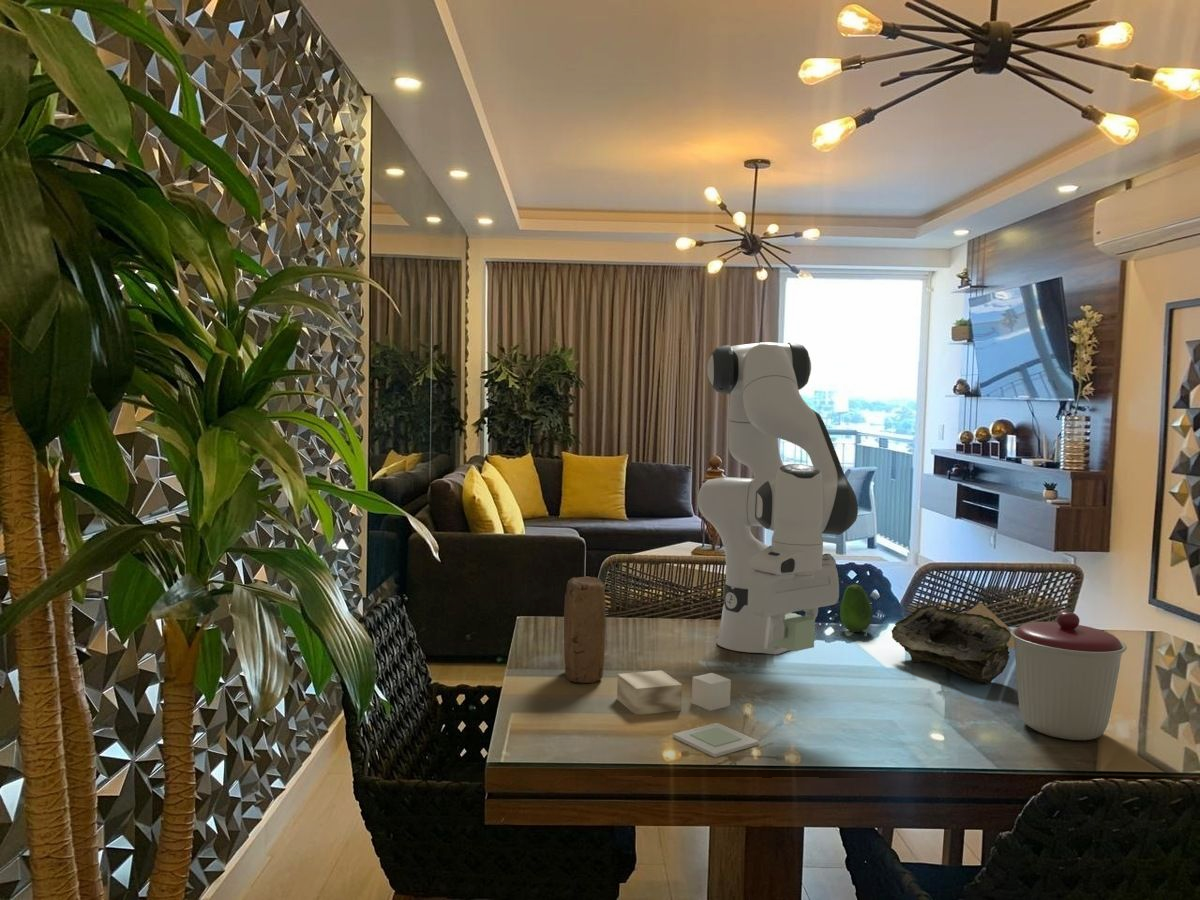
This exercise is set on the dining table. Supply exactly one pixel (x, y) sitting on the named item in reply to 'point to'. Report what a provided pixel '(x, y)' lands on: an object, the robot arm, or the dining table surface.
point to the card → (715, 739)
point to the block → (584, 629)
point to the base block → (649, 692)
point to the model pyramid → (985, 612)
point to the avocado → (855, 609)
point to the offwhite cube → (711, 691)
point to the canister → (1066, 676)
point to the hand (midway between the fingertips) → (793, 635)
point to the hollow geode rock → (955, 641)
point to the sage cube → (797, 633)
